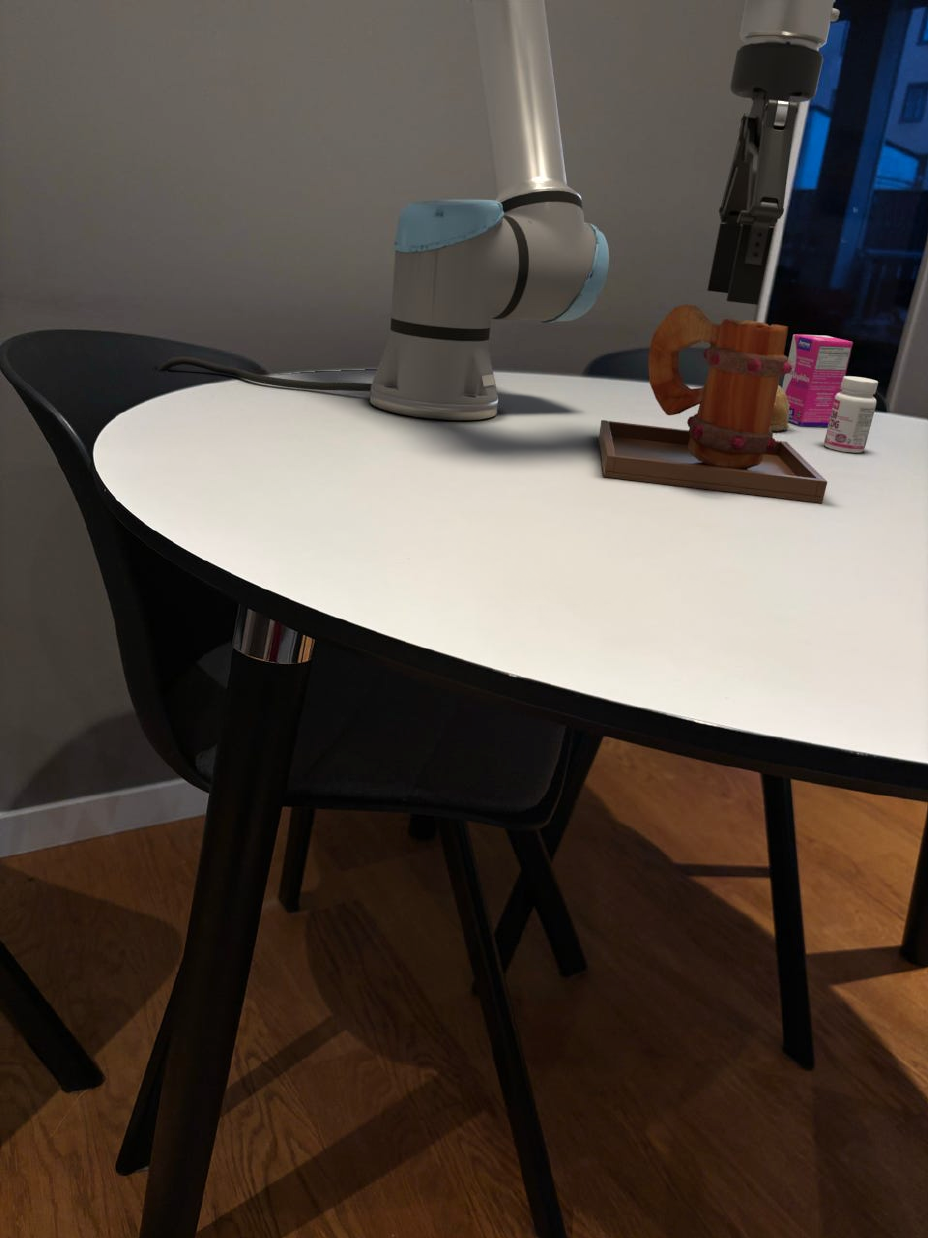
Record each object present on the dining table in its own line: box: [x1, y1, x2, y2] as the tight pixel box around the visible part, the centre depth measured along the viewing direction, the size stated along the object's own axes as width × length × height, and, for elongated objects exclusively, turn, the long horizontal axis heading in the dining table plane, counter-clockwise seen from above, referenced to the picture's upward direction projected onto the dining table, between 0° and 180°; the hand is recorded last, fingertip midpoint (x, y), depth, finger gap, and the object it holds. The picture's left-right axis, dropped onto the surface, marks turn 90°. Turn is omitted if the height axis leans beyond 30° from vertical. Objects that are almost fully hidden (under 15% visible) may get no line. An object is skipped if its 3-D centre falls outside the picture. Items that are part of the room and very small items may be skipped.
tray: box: [598, 419, 828, 504], centre depth 101 cm, size 21×19×2 cm
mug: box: [648, 303, 792, 470], centre depth 99 cm, size 15×8×15 cm, turn 55°
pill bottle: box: [823, 375, 879, 454], centre depth 118 cm, size 5×5×8 cm
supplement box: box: [781, 333, 854, 428], centre depth 133 cm, size 6×6×12 cm
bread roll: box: [769, 384, 790, 432], centre depth 128 cm, size 10×10×8 cm
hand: (730, 297), depth 95 cm, fingers open, 13 cm apart
